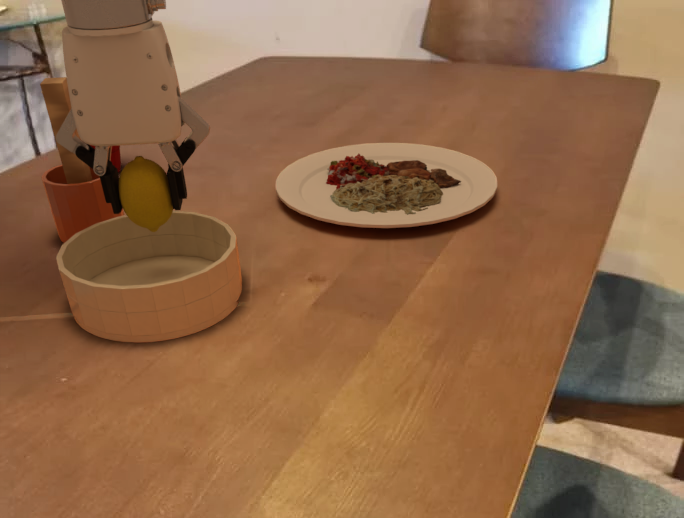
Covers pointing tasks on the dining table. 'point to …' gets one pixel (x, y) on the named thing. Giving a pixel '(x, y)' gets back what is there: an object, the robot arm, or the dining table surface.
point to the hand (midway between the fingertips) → (148, 205)
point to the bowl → (151, 277)
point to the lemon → (145, 193)
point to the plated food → (386, 185)
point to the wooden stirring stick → (58, 110)
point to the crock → (75, 202)
